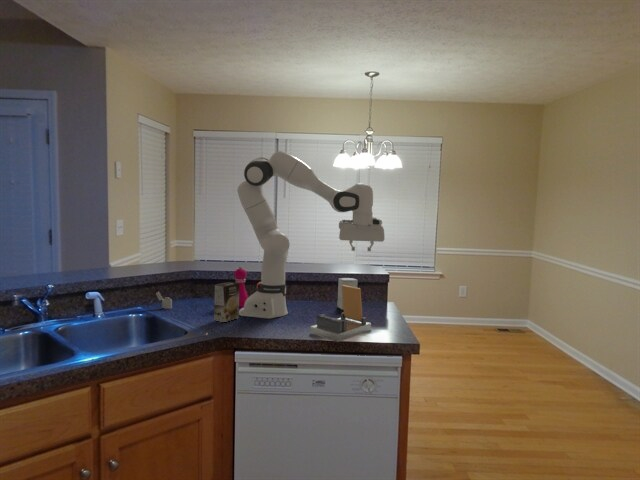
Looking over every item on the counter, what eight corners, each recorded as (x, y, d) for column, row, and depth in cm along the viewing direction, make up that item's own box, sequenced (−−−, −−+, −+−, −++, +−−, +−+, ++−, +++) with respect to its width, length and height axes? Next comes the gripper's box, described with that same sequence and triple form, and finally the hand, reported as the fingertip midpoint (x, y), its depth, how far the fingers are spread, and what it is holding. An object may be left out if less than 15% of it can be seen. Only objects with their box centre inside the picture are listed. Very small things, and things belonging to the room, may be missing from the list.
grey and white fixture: (344, 323, 192) (345, 307, 191) (370, 330, 183) (371, 313, 182) (310, 333, 176) (310, 316, 175) (337, 342, 166) (338, 323, 166)
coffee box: (224, 323, 186) (225, 286, 184) (213, 321, 189) (214, 284, 187) (239, 319, 194) (239, 283, 192) (228, 316, 197) (228, 281, 195)
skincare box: (341, 310, 215) (342, 280, 213) (336, 307, 220) (337, 277, 219) (357, 308, 218) (358, 279, 216) (351, 306, 223) (352, 277, 222)
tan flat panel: (344, 318, 188) (345, 317, 188) (361, 322, 182) (363, 321, 182) (341, 285, 184) (343, 284, 185) (359, 289, 178) (360, 288, 179)
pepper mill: (235, 308, 212) (235, 267, 210) (230, 304, 219) (231, 265, 217) (249, 306, 216) (250, 266, 214) (244, 303, 222) (245, 264, 220)
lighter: (172, 307, 209) (171, 291, 208) (171, 308, 207) (171, 292, 206) (156, 307, 208) (156, 291, 207) (155, 308, 206) (155, 292, 206)
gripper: (339, 219, 193) (337, 251, 194) (385, 221, 192) (384, 252, 193) (339, 219, 199) (338, 249, 200) (384, 220, 198) (382, 250, 199)
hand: (361, 251), depth 197 cm, fingers open, 6 cm apart
